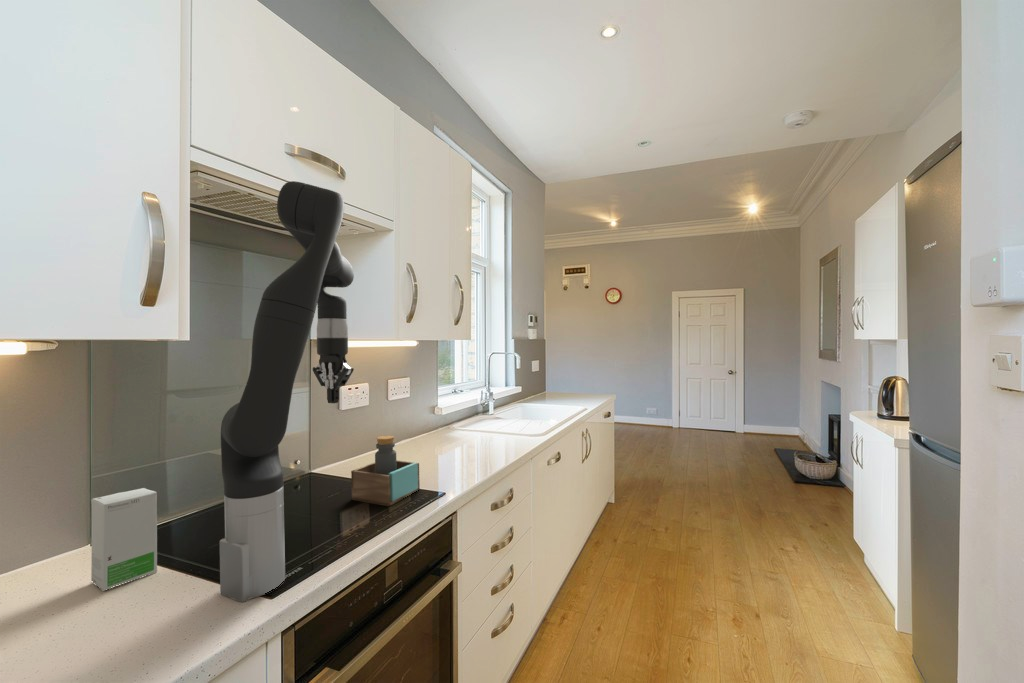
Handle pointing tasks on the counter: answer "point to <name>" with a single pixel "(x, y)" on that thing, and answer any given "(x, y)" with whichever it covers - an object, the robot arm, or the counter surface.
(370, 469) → the housing
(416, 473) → the teal drawer
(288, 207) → the robot arm
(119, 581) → the skincare box
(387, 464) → the bottle
